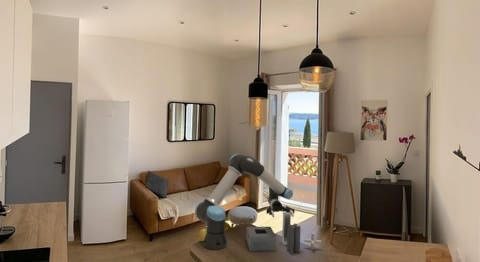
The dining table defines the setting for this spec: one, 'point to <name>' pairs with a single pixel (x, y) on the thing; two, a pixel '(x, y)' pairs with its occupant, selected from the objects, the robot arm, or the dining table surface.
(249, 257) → the dining table surface
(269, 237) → the bore block
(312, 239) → the pipe connector
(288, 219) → the square bit
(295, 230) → the cross bit
